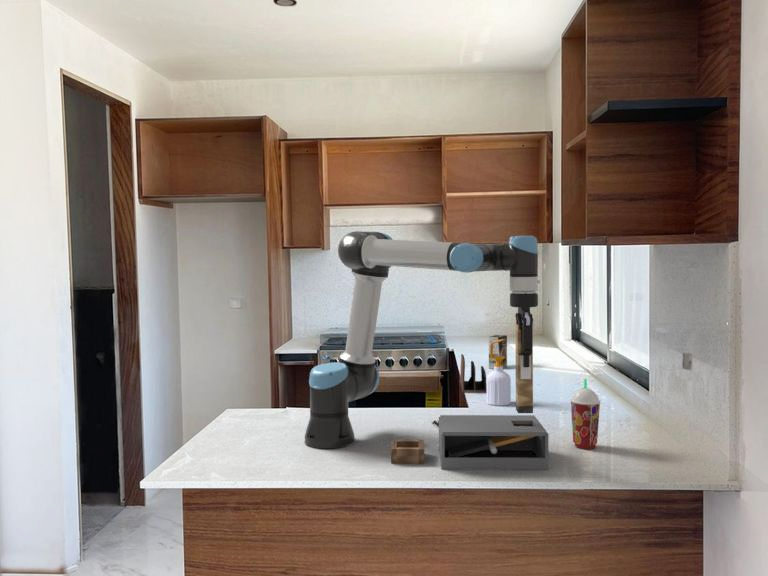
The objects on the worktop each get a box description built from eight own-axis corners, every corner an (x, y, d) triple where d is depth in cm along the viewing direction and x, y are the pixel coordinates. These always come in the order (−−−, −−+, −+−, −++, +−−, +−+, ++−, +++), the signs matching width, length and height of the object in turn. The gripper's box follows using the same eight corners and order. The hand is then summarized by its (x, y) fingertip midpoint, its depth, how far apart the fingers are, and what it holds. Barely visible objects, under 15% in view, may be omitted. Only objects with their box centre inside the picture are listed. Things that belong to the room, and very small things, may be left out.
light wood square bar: (518, 413, 177) (517, 325, 176) (515, 409, 181) (515, 324, 180) (533, 413, 177) (532, 325, 176) (530, 409, 181) (529, 324, 180)
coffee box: (500, 369, 321) (500, 337, 320) (488, 368, 324) (488, 336, 323) (507, 366, 328) (507, 335, 327) (495, 365, 332) (495, 334, 331)
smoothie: (605, 449, 188) (606, 380, 187) (580, 452, 186) (581, 382, 185) (589, 441, 196) (589, 375, 195) (564, 444, 194) (565, 377, 193)
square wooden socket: (391, 463, 177) (391, 449, 177) (392, 453, 186) (392, 439, 186) (424, 463, 177) (424, 449, 177) (423, 453, 186) (423, 439, 186)
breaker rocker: (451, 465, 173) (448, 456, 173) (448, 448, 188) (445, 440, 188) (538, 442, 172) (536, 433, 172) (528, 427, 187) (526, 419, 187)
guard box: (441, 469, 172) (441, 431, 172) (438, 449, 190) (438, 415, 190) (548, 469, 171) (548, 432, 170) (535, 449, 189) (535, 415, 188)
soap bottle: (508, 406, 242) (508, 341, 241) (484, 405, 245) (484, 340, 244) (512, 401, 251) (512, 338, 249) (488, 400, 254) (488, 337, 252)
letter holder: (462, 393, 268) (462, 359, 267) (460, 383, 287) (460, 352, 287) (486, 393, 267) (486, 359, 266) (482, 383, 287) (482, 352, 286)
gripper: (543, 293, 169) (544, 383, 170) (532, 290, 186) (532, 371, 187) (514, 294, 169) (515, 383, 170) (505, 290, 186) (506, 371, 187)
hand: (524, 377), depth 179 cm, fingers closed on light wood square bar, 4 cm apart
